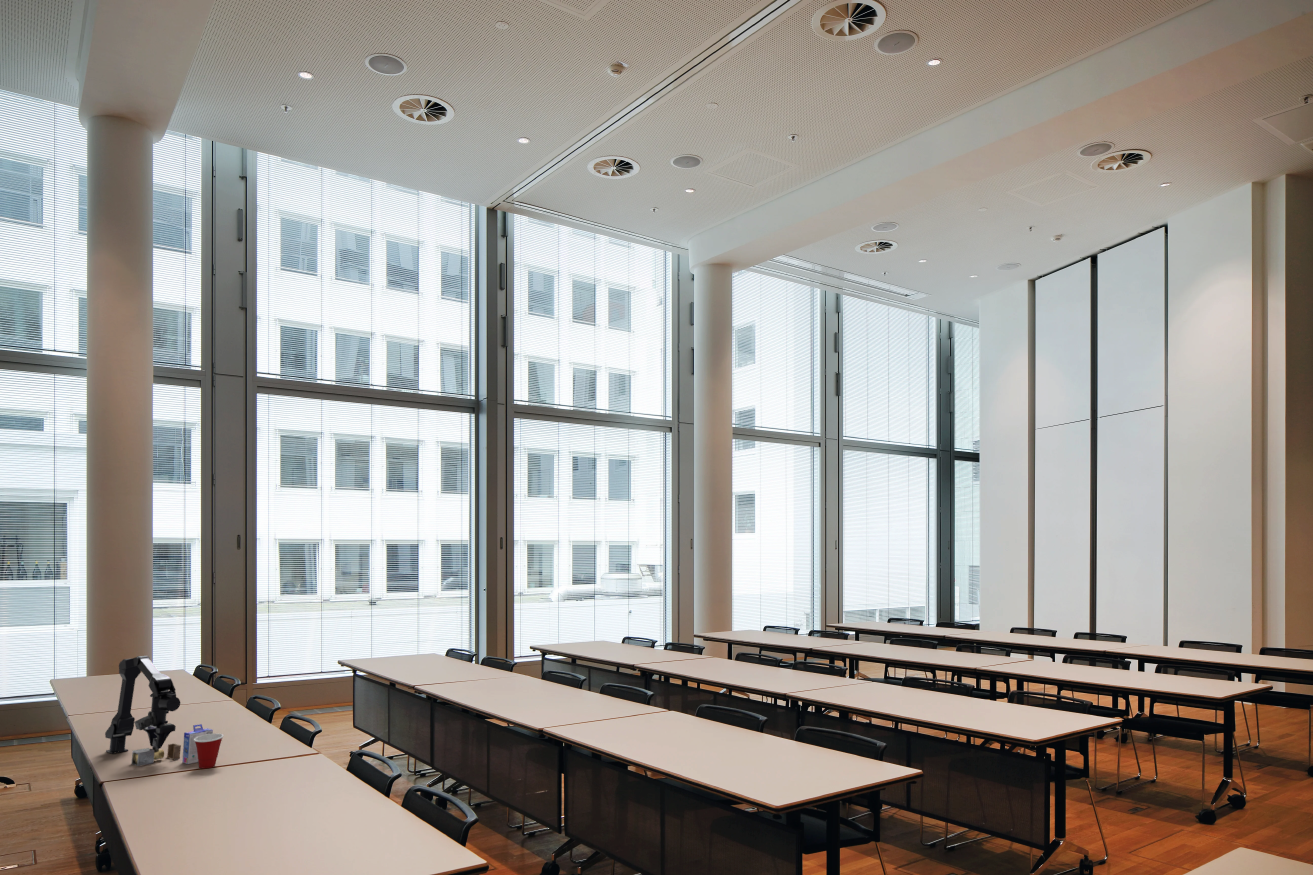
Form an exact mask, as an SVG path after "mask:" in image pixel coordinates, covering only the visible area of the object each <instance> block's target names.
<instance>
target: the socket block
mask: <svg viewBox="0 0 1313 875" xmlns="http://www.w3.org/2000/svg"><path fill="white" fill-rule="evenodd" d="M181 747H182V745H181V744H178V743H175V742H174V743H169V744H168V745H167V753H166V754H167V755H166V756H167V758H168V759H171V760H176V759H180V758H181Z"/></svg>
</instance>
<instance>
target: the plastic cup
mask: <svg viewBox="0 0 1313 875" xmlns="http://www.w3.org/2000/svg"><path fill="white" fill-rule="evenodd" d="M223 738H224V733H223V734H222V733H217V732H216V733H213V734H206V735H201V736H198V737H196V738H194V741H195V743H196V747H197V755H198V762H197V763H198V768H199V769H211V768H214V767H215V766H216V763H217V759H218V757H219V756H218V755H219V753H220V746H221V744H222V741H223Z"/></svg>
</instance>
